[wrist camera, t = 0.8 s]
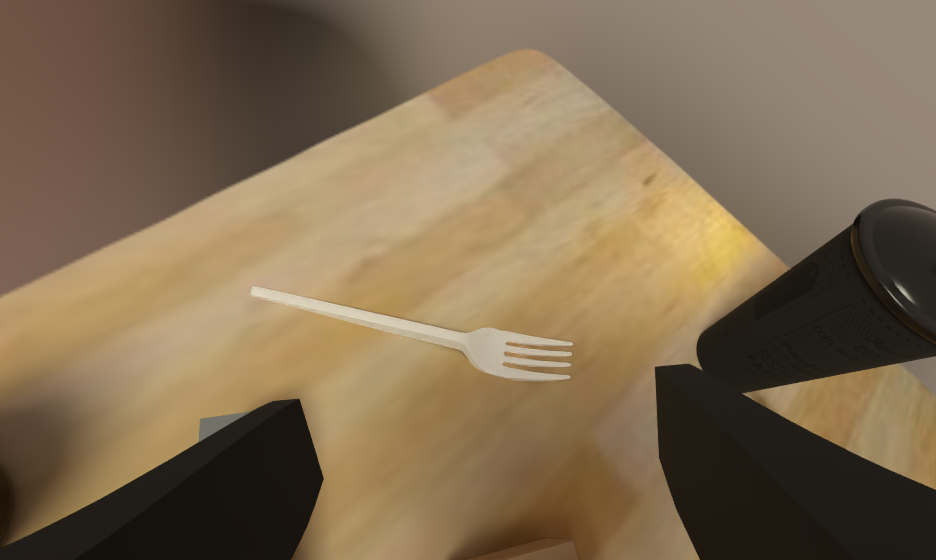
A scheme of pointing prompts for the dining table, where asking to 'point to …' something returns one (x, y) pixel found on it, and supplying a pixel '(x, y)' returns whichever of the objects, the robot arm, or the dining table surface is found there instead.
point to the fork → (444, 337)
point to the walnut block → (536, 551)
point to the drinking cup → (836, 306)
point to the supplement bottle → (4, 500)
